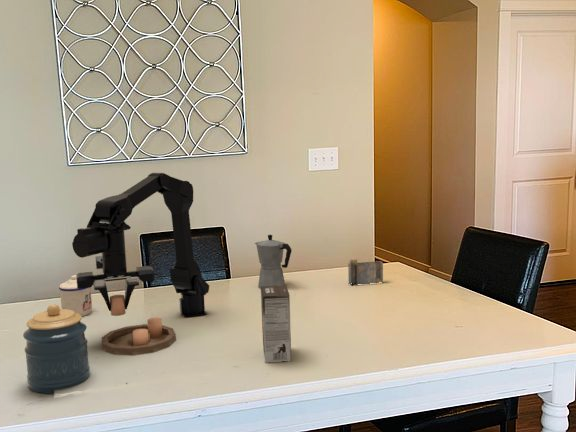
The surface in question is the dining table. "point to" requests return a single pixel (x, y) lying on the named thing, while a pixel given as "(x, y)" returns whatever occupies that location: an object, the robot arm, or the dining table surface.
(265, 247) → the coffeepot
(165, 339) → the groove tray
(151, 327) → the bead
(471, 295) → the dining table surface
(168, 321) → the dining table surface
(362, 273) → the grey spool block
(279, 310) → the coffee box
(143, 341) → the bead
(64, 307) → the white lidded jar
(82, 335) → the canister
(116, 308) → the bead
